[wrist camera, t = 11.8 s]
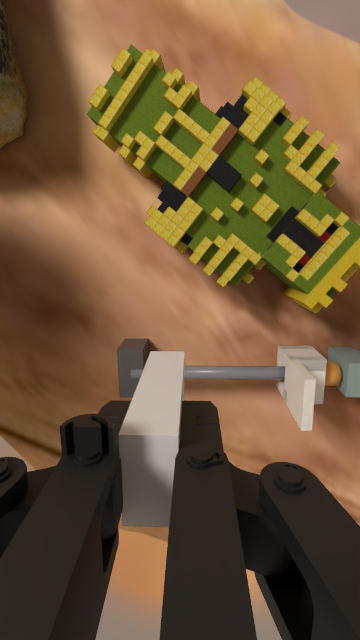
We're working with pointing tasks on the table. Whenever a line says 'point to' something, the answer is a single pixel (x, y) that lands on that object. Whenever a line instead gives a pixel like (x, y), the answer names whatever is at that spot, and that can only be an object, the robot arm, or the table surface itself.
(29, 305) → the table surface
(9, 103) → the stone
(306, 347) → the cream l-shaped block
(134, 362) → the rail
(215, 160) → the toy
